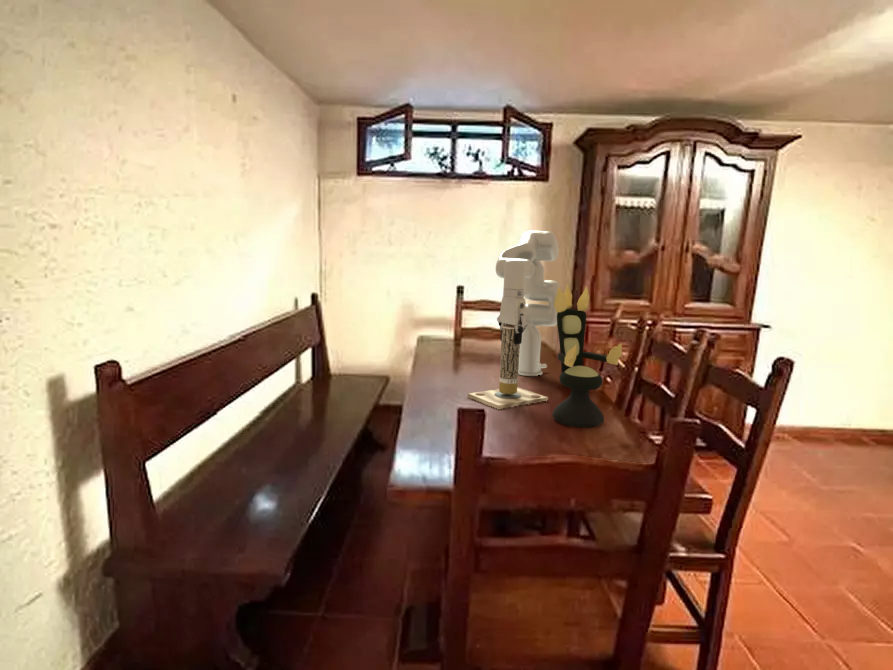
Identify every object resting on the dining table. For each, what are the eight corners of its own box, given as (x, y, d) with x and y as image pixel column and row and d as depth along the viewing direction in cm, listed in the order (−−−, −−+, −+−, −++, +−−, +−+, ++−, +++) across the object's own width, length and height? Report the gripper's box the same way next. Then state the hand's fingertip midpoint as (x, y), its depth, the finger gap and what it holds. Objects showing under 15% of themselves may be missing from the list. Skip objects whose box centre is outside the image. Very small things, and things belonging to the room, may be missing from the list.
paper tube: (495, 392, 220) (498, 325, 216) (506, 389, 225) (509, 324, 221) (509, 395, 215) (513, 328, 211) (520, 392, 220) (524, 326, 216)
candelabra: (568, 432, 184) (579, 288, 177) (531, 412, 204) (539, 282, 197) (617, 426, 192) (629, 288, 185) (576, 408, 212) (585, 283, 205)
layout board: (515, 390, 235) (516, 386, 234) (547, 401, 220) (548, 396, 220) (467, 397, 221) (467, 393, 221) (498, 409, 206) (498, 404, 206)
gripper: (537, 295, 209) (534, 345, 212) (505, 291, 223) (503, 337, 226) (521, 296, 205) (518, 346, 208) (490, 291, 219) (488, 339, 222)
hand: (510, 341), depth 217 cm, fingers closed on paper tube, 6 cm apart
